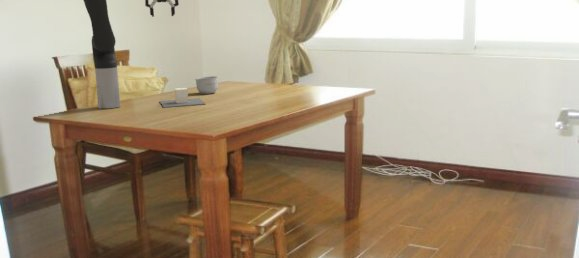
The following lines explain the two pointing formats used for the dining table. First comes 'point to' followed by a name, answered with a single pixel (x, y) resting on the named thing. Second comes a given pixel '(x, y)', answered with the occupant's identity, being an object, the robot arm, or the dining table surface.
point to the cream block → (181, 95)
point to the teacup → (207, 84)
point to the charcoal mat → (190, 103)
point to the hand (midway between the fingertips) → (162, 16)
